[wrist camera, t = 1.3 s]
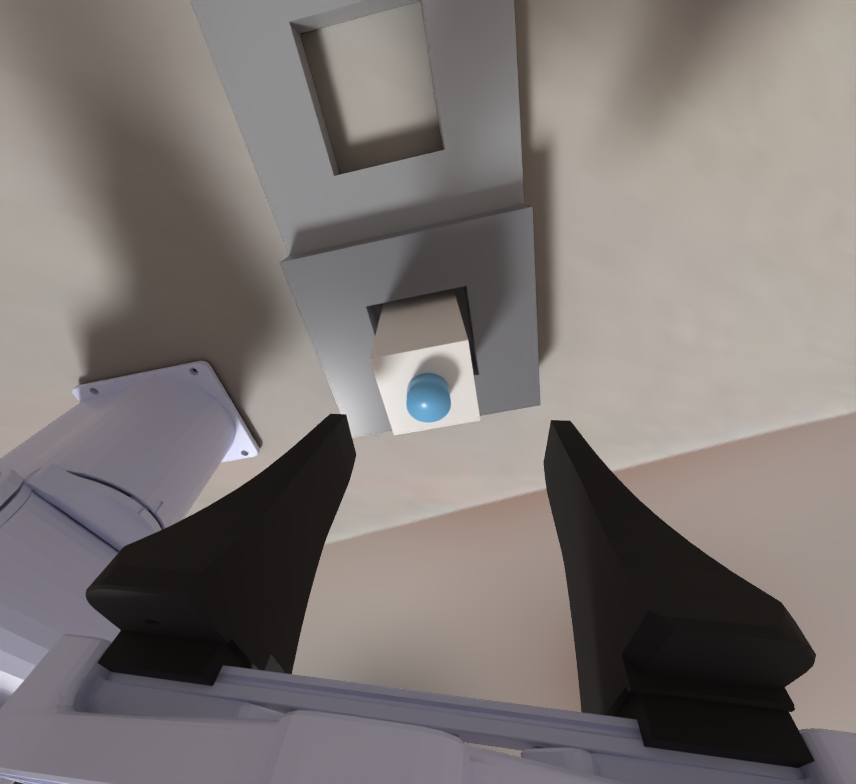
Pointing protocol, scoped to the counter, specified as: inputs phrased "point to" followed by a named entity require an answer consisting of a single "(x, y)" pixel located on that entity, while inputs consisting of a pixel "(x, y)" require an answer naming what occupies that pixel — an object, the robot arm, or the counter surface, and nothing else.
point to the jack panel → (392, 193)
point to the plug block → (424, 363)
